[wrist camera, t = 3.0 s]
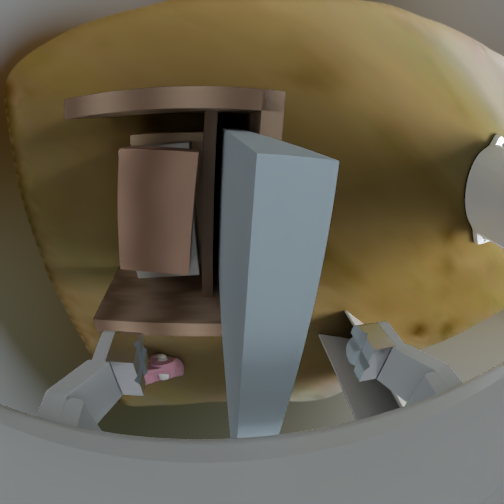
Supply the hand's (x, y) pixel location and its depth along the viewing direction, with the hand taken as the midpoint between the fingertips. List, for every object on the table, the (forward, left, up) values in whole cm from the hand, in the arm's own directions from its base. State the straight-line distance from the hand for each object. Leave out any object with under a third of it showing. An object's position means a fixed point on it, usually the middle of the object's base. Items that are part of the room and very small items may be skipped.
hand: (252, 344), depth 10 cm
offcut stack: (+6, 0, -22) cm, 22 cm away
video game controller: (+11, +24, -22) cm, 34 cm away
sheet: (0, 0, -21) cm, 21 cm away
